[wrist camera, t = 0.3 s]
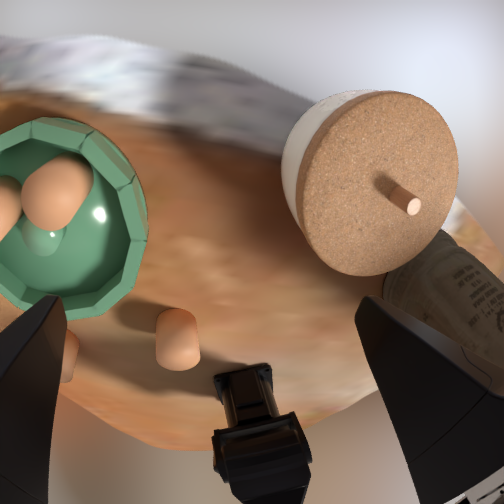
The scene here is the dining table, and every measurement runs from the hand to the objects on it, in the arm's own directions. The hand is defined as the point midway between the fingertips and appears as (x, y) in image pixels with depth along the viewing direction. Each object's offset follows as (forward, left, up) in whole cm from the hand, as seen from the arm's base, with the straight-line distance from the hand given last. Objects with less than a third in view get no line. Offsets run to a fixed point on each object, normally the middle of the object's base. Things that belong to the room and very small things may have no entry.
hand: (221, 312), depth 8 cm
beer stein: (-16, -23, -14) cm, 31 cm away
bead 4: (-13, +4, -14) cm, 19 cm away
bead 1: (+2, +14, -13) cm, 19 cm away
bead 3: (-13, +16, -14) cm, 25 cm away
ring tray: (-1, +11, -14) cm, 18 cm away
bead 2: (+2, +8, -13) cm, 15 cm away
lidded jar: (0, -10, -14) cm, 17 cm away
